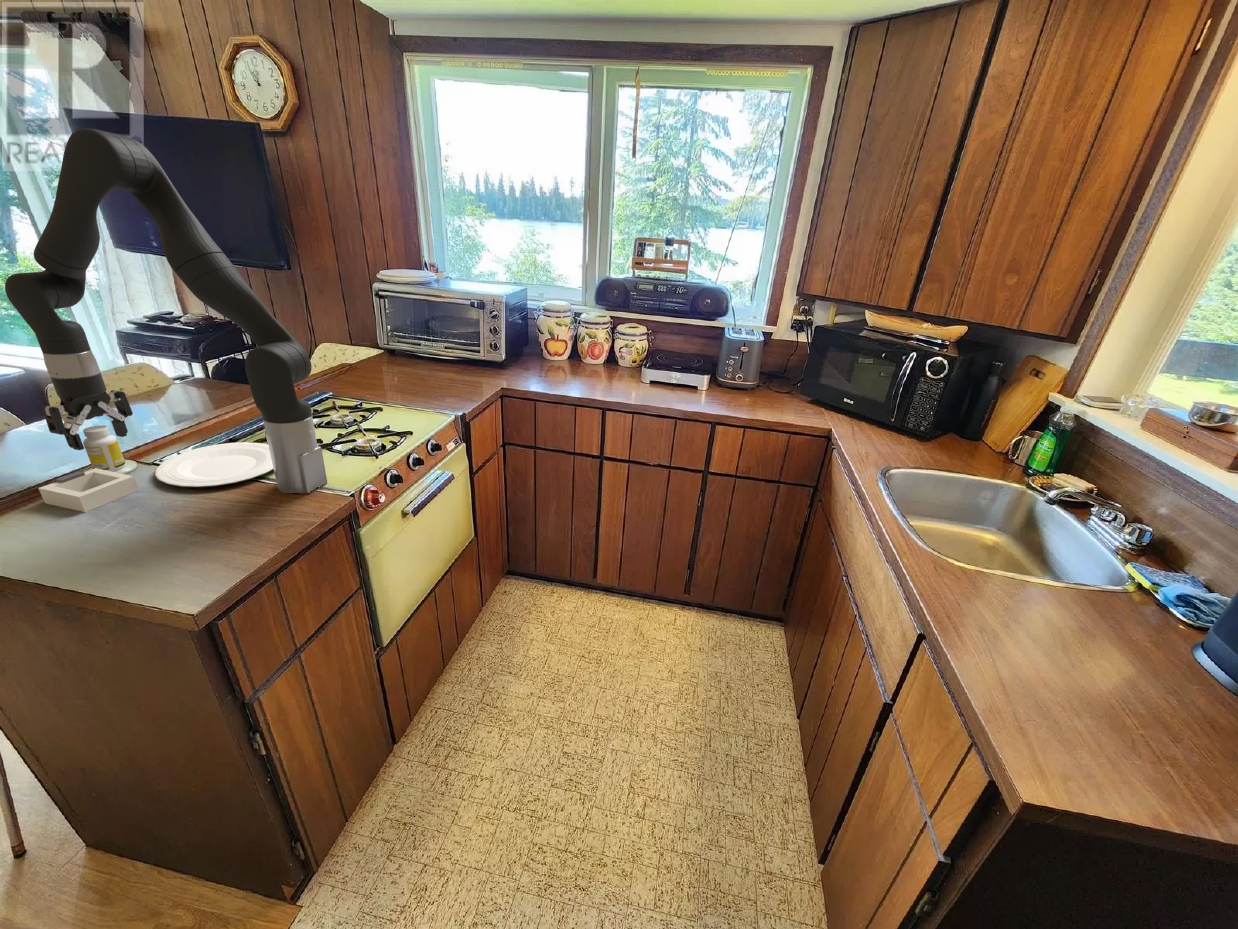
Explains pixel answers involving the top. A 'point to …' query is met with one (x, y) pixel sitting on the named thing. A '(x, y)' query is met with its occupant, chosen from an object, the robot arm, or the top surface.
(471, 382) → the top surface
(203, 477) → the plate
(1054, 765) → the top surface
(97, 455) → the supplement bottle
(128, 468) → the coaster
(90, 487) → the shallow beige tray
